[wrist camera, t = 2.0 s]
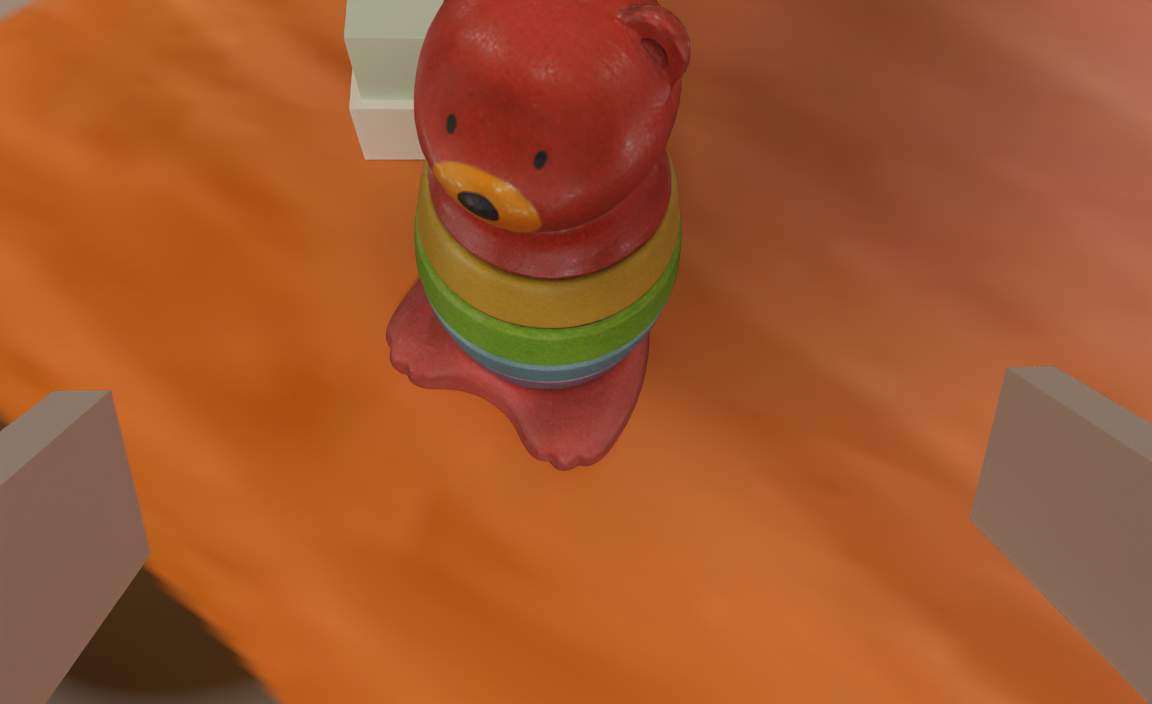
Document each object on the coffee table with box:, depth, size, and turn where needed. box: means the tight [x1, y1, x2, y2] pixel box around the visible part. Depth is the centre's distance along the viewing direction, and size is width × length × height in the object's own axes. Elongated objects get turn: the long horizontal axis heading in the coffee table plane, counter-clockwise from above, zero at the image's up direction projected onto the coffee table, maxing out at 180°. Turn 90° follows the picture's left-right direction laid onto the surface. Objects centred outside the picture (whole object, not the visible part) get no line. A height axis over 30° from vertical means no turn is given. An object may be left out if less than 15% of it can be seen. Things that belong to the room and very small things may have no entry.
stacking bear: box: [386, 0, 690, 471], centre depth 25 cm, size 11×10×18 cm
